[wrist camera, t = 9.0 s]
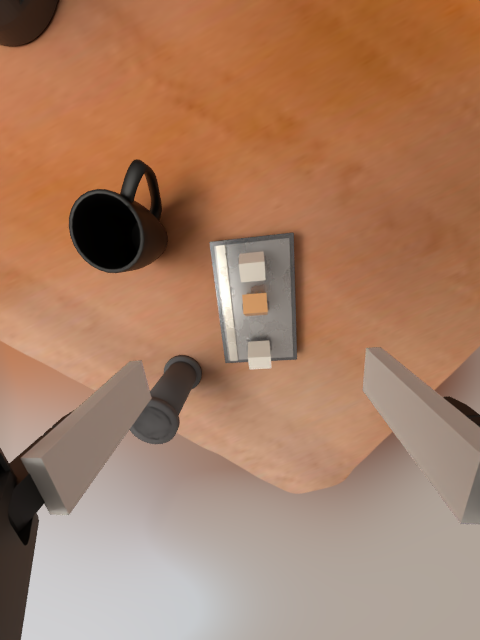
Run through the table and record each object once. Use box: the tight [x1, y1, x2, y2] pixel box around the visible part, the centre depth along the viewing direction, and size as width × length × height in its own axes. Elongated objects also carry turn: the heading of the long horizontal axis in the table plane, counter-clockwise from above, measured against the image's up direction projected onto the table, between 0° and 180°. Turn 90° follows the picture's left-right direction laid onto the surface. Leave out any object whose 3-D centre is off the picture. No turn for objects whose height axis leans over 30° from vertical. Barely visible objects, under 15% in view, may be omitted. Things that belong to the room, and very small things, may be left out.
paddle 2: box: [246, 340, 272, 369], centre depth 31 cm, size 2×4×4 cm, turn 95°
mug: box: [69, 159, 168, 273], centre depth 27 cm, size 8×12×10 cm
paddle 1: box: [238, 251, 267, 282], centre depth 27 cm, size 2×4×4 cm, turn 95°
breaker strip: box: [210, 233, 297, 363], centre depth 32 cm, size 18×11×3 cm, turn 6°
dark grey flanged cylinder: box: [129, 355, 202, 444], centre depth 33 cm, size 6×6×12 cm
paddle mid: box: [242, 293, 269, 316], centre depth 29 cm, size 2×4×4 cm, turn 97°
